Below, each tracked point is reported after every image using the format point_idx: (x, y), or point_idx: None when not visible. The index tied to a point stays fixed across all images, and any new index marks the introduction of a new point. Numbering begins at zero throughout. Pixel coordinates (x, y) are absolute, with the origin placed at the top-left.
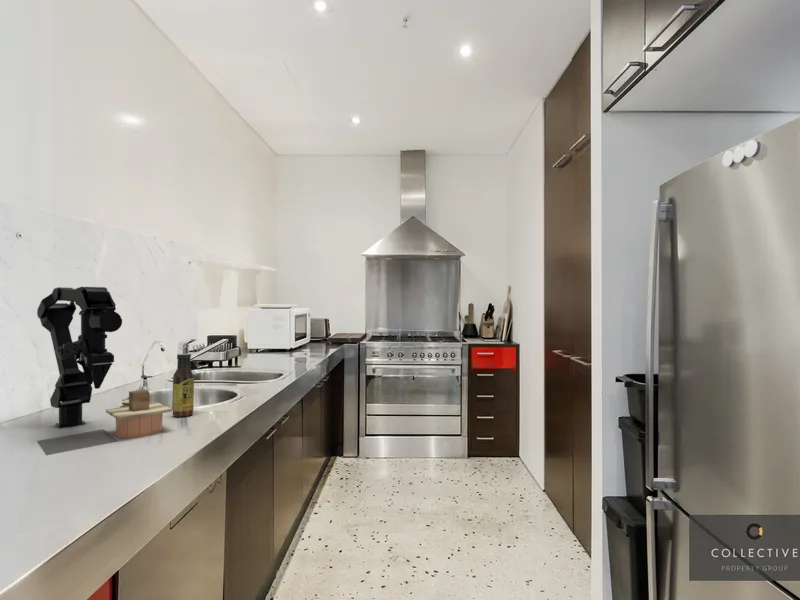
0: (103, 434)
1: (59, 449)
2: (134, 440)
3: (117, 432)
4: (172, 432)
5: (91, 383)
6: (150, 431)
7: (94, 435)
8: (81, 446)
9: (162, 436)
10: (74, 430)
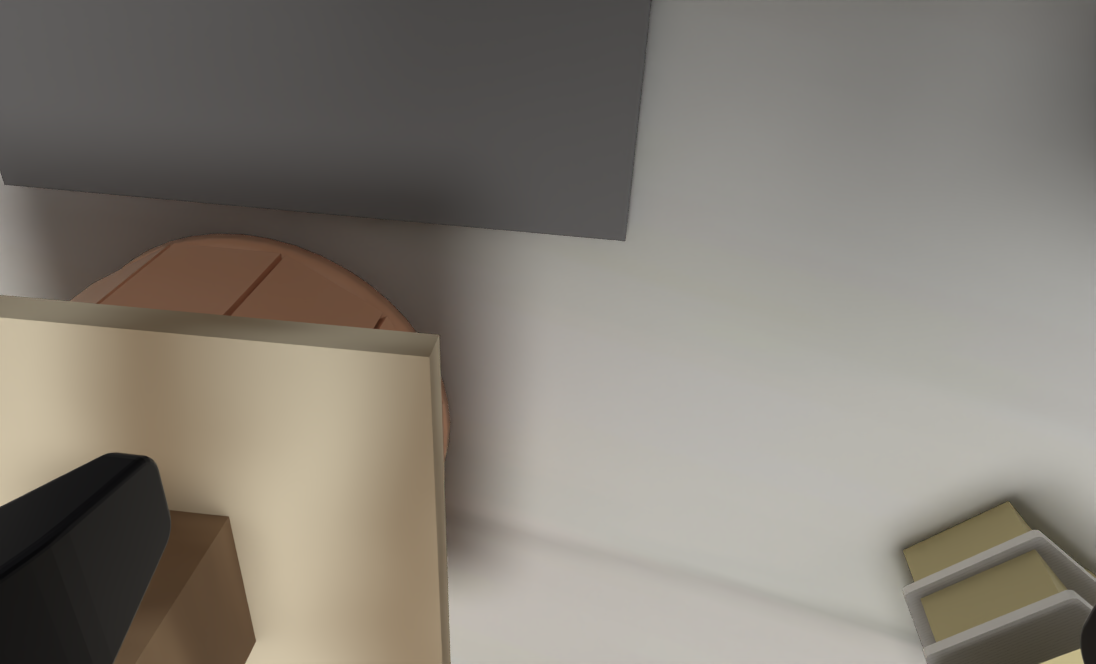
0: (380, 167)
1: None
2: (25, 291)
3: (203, 254)
4: None
5: (1093, 648)
6: None
7: (404, 87)
8: None
9: None
10: (973, 5)
